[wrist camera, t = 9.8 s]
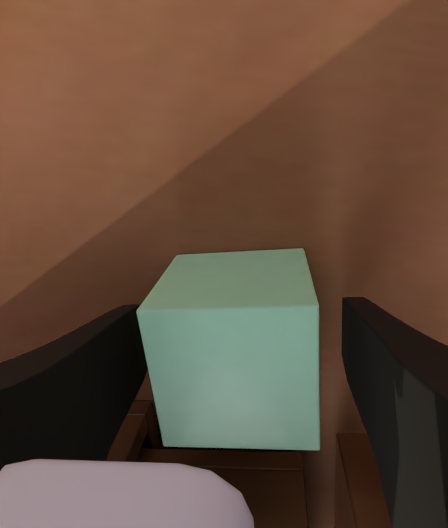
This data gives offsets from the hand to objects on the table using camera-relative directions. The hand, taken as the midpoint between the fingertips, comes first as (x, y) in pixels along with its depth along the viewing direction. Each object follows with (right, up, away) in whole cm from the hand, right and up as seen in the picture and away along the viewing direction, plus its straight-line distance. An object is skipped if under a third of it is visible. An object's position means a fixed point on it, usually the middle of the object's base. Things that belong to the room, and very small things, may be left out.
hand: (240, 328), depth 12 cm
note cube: (0, +1, +1) cm, 1 cm away
